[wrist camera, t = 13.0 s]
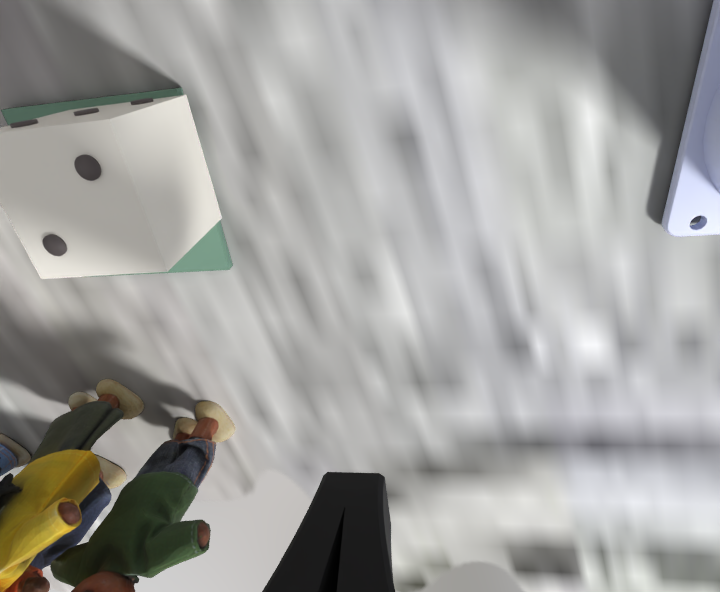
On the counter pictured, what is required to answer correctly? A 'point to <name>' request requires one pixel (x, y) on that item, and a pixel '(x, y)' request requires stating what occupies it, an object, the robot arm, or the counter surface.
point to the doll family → (103, 499)
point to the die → (107, 188)
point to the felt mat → (212, 245)
